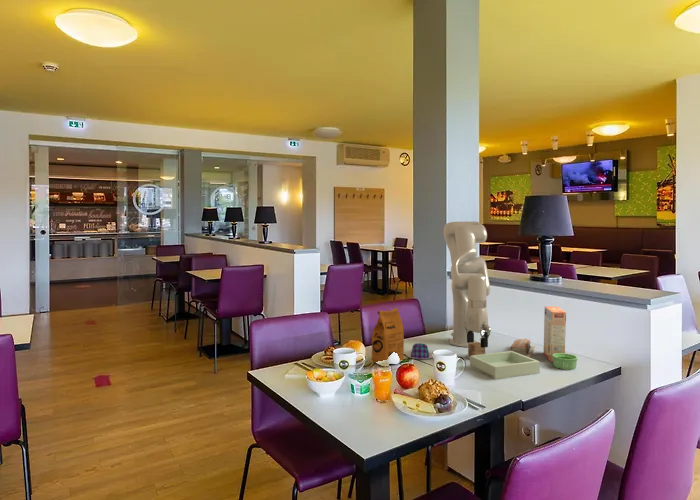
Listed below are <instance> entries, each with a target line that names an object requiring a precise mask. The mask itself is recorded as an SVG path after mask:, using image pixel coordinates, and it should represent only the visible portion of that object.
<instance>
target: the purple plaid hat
mask: <svg viewBox="0 0 700 500" xmlns="http://www.w3.org/2000/svg"><path fill="white" fill-rule="evenodd" d="M432 354H433V353H432V352H430V351H429V348H428V345H427V344H426V343H421V342H420V343H414V344H413V345H412V348H411V351H408V352H407V353H405V356H406V357H408V358H411V359H415V360H428V359H432V358H433V357H432Z"/></svg>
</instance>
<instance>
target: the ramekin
mask: <svg viewBox="0 0 700 500" xmlns="http://www.w3.org/2000/svg"><path fill="white" fill-rule="evenodd" d="M552 363H553V367H555V368H557V369H559V368H560V369H559V370H568V371H569V370H575V369H576V368H577V363H578V356H577V355H574V354H571V353H566V352H565V353H555V354H553V362H552Z"/></svg>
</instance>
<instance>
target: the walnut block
mask: <svg viewBox="0 0 700 500" xmlns="http://www.w3.org/2000/svg"><path fill="white" fill-rule="evenodd" d="M481 354H486V347H485V348H481V342H480V341H477V342H474V343H468V347H467V357H468V358H469V359H470V356H472V355H481Z"/></svg>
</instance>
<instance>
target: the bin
mask: <svg viewBox="0 0 700 500" xmlns="http://www.w3.org/2000/svg"><path fill="white" fill-rule="evenodd" d="M540 363H541V362H540V361H539V360H537V359H535V358H533V357H530V358H529V357H527V356H524V355H521V354H519V353H516V352H513V351H508V350H507V351H500V352H491V353H485V354H481V355H472V356H470V358H469V367H470V368H471V369H474V370H476V371H478V372H479V373H482V374H484V375H485V376H488V377H490V379H491V378H492V379H494V380H501V379H509V378H515V377H516V378H517V377H521V376H523V377H524V376H529V375H535V374H540V372H541V371H540V370H541V365H540Z"/></svg>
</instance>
